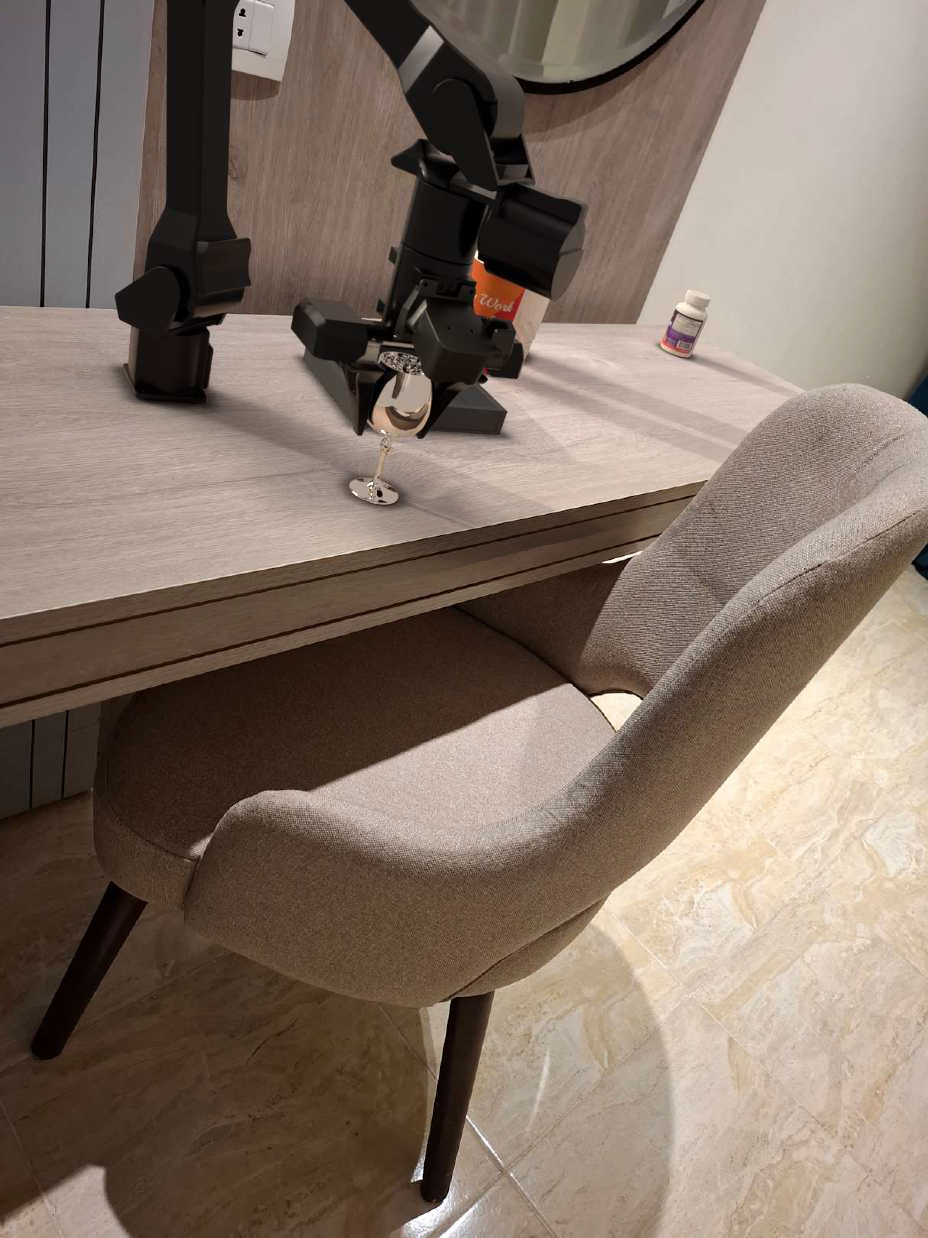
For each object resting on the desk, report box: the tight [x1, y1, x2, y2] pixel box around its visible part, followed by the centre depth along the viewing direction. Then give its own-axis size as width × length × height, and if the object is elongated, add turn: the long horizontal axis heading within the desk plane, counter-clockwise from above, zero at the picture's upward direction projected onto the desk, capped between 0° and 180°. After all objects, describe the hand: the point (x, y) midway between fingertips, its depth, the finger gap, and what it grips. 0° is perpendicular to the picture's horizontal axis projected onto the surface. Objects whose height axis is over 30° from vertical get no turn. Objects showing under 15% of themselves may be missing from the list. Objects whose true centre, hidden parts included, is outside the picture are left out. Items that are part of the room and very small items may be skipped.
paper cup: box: [470, 250, 525, 374], centre depth 112 cm, size 8×8×14 cm
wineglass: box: [348, 352, 435, 506], centre depth 77 cm, size 6×6×12 cm
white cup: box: [512, 289, 551, 359], centre depth 121 cm, size 8×8×10 cm
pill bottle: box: [660, 289, 712, 358], centre depth 148 cm, size 5×5×10 cm
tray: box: [302, 346, 508, 435], centre depth 99 cm, size 18×16×3 cm
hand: (388, 435), depth 77 cm, fingers closed on wineglass, 5 cm apart
